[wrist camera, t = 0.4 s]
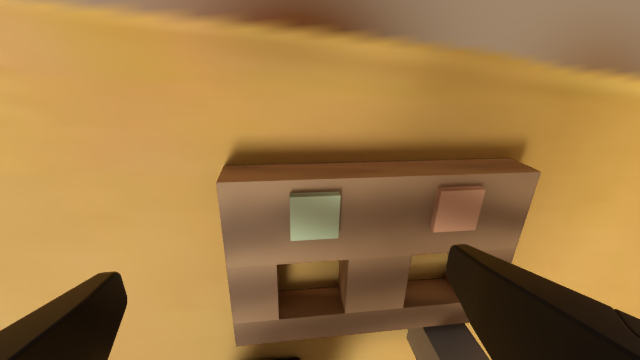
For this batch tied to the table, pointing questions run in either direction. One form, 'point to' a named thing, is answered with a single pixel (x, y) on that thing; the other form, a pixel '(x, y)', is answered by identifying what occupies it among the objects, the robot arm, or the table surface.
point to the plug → (445, 343)
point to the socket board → (361, 239)
